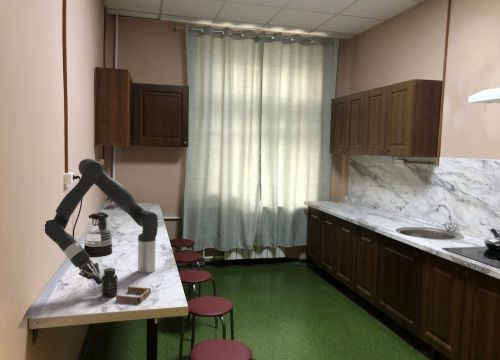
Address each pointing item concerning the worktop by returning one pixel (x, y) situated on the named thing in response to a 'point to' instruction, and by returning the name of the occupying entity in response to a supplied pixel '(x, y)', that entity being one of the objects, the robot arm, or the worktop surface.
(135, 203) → the robot arm
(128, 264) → the worktop surface
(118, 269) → the worktop surface
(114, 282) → the supplement bottle
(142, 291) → the walnut frame
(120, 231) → the worktop surface
